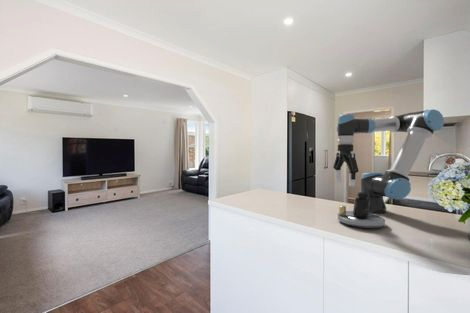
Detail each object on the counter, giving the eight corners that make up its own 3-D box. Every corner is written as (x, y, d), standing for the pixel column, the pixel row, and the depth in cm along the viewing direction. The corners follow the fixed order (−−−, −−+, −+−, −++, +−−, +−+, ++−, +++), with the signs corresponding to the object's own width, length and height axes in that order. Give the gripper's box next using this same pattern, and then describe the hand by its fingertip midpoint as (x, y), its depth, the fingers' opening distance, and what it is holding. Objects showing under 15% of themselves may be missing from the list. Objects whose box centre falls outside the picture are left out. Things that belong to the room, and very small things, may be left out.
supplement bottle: (367, 219, 109) (370, 195, 109) (352, 216, 113) (354, 192, 112) (368, 216, 115) (371, 193, 114) (353, 213, 119) (356, 190, 118)
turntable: (374, 215, 122) (375, 203, 122) (393, 229, 102) (393, 214, 101) (333, 213, 126) (333, 201, 126) (343, 226, 106) (343, 211, 106)
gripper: (327, 144, 131) (326, 180, 132) (352, 143, 106) (351, 188, 107) (340, 144, 131) (339, 180, 132) (367, 143, 106) (366, 187, 107)
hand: (344, 183), depth 120 cm, fingers open, 13 cm apart
